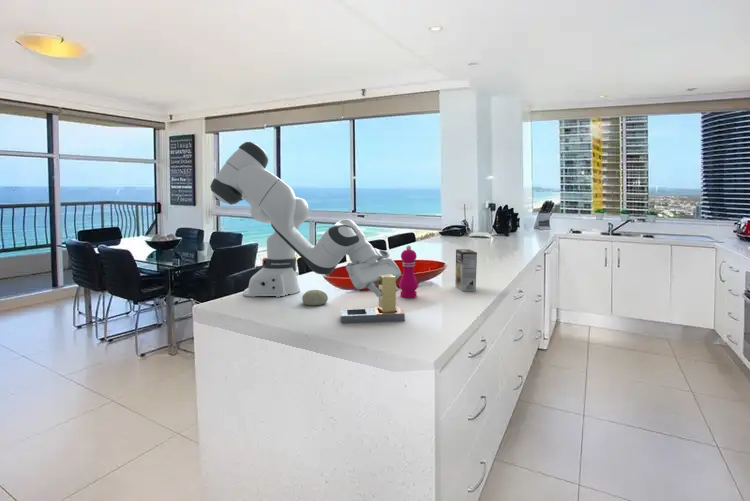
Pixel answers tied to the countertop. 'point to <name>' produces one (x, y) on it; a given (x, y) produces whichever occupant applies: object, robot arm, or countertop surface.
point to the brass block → (387, 294)
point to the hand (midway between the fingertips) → (388, 293)
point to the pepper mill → (408, 274)
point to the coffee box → (466, 269)
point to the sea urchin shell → (314, 297)
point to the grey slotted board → (370, 315)
